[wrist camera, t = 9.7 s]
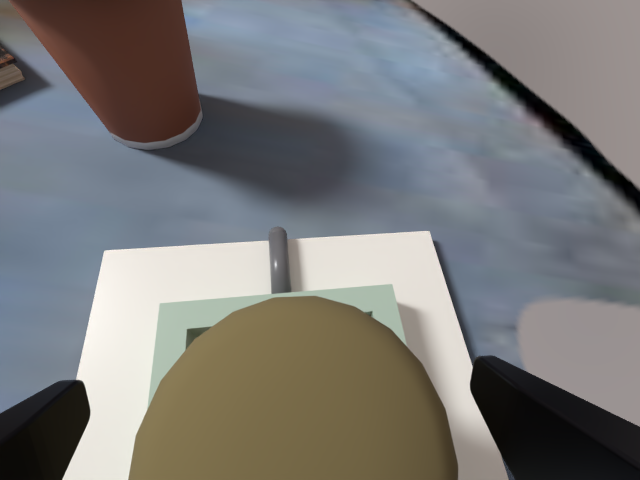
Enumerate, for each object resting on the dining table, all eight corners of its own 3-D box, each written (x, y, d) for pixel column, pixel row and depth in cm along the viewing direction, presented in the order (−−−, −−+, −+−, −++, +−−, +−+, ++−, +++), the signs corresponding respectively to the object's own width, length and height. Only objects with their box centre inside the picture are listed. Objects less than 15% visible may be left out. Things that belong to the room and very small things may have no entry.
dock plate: (559, 675, 11) (632, 746, 9) (-6, 832, 9) (-115, 989, 7) (421, 230, 20) (440, 205, 18) (113, 248, 18) (85, 222, 15)
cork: (188, 474, 13) (-131, 673, 3) (261, 331, 15) (220, 196, 6) (329, 549, 12) (512, 1121, 2) (378, 386, 15) (552, 335, 5)
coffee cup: (67, 165, 20) (-178, -111, 9) (102, 73, 24) (-40, -188, 14) (217, 165, 21) (148, -82, 10) (225, 77, 25) (182, -162, 15)
